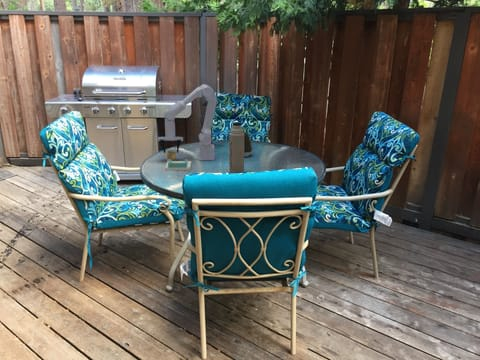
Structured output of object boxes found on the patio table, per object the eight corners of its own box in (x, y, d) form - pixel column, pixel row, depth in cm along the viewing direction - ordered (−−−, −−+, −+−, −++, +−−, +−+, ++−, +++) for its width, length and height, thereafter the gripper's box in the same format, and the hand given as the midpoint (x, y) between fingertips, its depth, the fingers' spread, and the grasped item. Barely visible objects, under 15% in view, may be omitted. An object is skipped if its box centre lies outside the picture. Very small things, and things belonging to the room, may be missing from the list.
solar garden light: (222, 145, 280) (221, 101, 270) (217, 150, 269) (216, 104, 258) (205, 144, 282) (204, 100, 272) (199, 148, 271) (198, 103, 261)
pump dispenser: (237, 158, 251) (237, 134, 246) (234, 153, 261) (234, 130, 255) (253, 157, 253) (254, 133, 248) (250, 153, 263) (250, 129, 257)
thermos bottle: (229, 175, 222) (229, 124, 212) (229, 170, 229) (229, 121, 219) (244, 175, 222) (245, 124, 213) (243, 170, 230) (243, 121, 220)
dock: (191, 163, 241) (191, 156, 240) (190, 170, 230) (189, 163, 229) (167, 163, 240) (167, 157, 239) (164, 170, 229) (164, 163, 228)
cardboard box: (176, 159, 248) (175, 151, 246) (175, 162, 243) (174, 154, 241) (168, 159, 248) (168, 151, 246) (167, 162, 242) (166, 154, 241)
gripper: (183, 128, 243) (184, 150, 248) (158, 128, 242) (159, 150, 247) (182, 131, 236) (183, 153, 241) (156, 131, 236) (158, 154, 240)
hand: (171, 152), depth 243 cm, fingers open, 7 cm apart
